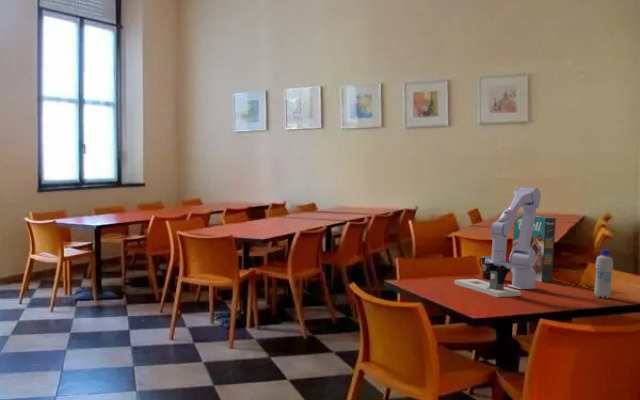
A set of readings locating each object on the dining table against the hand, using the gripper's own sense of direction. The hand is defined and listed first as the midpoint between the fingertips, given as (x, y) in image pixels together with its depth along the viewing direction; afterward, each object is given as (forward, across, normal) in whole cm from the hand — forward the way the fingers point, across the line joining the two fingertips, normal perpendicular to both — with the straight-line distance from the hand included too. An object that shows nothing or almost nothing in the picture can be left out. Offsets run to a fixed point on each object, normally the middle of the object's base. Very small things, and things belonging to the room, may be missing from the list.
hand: (497, 283), depth 256 cm
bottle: (+4, +18, +40) cm, 44 cm away
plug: (+2, 0, 0) cm, 3 cm away
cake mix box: (+4, -26, +44) cm, 52 cm away
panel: (+4, -6, 0) cm, 8 cm away
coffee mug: (+4, -30, +21) cm, 36 cm away
